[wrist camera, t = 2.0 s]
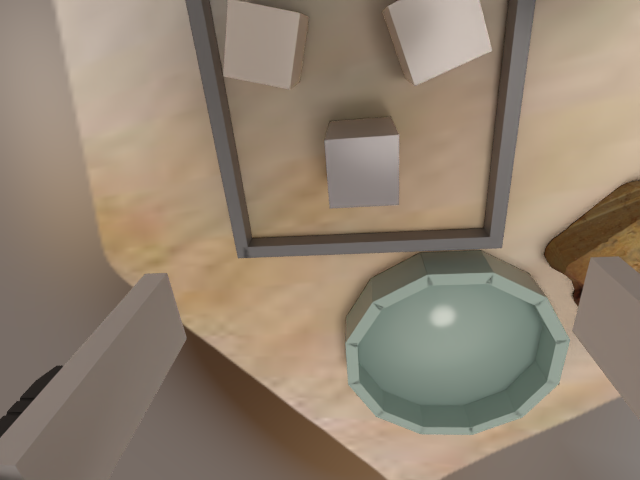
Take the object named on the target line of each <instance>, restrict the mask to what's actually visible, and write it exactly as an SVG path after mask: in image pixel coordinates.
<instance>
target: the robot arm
mask: <svg viewBox="0 0 640 480" xmlns="http://www.w3.org/2000/svg"><path fill="white" fill-rule="evenodd" d="M572 331H573V333H574V334H575V335H576V337H577V338H578V339H579V341H580V342H581V343H582V345H583V346H584V347H585V349H586V350H587V351H588V353H589V354H590V355H591V357H592V358H593V359H594V361H595V362H596V363H597V365H598V366H599V367H600V369H601V370H602V371H603V373H604V374H605V375H606V377H607V378H608V379H609V381H610V382H611V383H612V384H613V386H614V387H615V388H616V390H617V391H618V392H619V394H620V395H621V396H622V398H623V399H624V400H625V402H626V403H627V404H628V405H629V407H630V408H631V410H632V411H633V412H634V414H635V415H636V416H637V418H638V419H639V420H640V274H639V273H638V272H637V271H636V270H634V269H633V268H632V267H631V266H630V265H628V264H627V263H626V262H625V261H623V260H622V259H621V258H620V257H619V256H616V257H591V258H590V262H589V266H588V270H587V274H586V278H585V282H584V286H583V290H582V294H581V298H580V302H579V306H578V310H577V314H576V318H575V322H574V326H573V330H572ZM185 340H186V335H185V331H184V328H183V325H182V321H181V318H180V315H179V311H178V308H177V305H176V301H175V298H174V295H173V291H172V288H171V285H170V281H169V278H168V275H167V273H155V274H144V276H143V277H142V278H141V279H140V280H139V281H138V282H137V284H136V285H135V286H134V287H133V288H132V289H131V290H130V292H129V293H128V294H127V295H126V296H125V297H124V298H123V299H122V301H121V302H120V303H119V304H118V305H117V306H116V307H115V309H114V310H113V311H112V312H111V313H110V314H109V315H108V316H107V318H106V319H105V320H104V321H103V322H102V323H101V324H100V325H99V327H98V328H97V329H96V330H95V331H94V332H93V333H92V334H91V336H90V337H89V338H88V339H87V340H86V341H85V342H84V344H83V345H82V346H81V347H80V348H79V349H78V350H77V352H76V353H75V354H74V355H73V356H72V357H71V358H70V359H69V361H68V362H67V363H66V364H65V365H64V366H56V367H54V368H53V369H52V370H50V371H49V372H47V373H46V374H45V375H43V376H42V377H40V378H39V379H38V380H36V381H35V382H34V383H33V384H32V385H31V387H30V388H29V389H28V390H27V391H26V392H25V393H24V394H23V395H22V396H21V398H20V401H17V402H16V403H15V404H14V405H13V406H12V407H11V408H10V409H9V410H8V411H7V415H6V416H3V417H2V418H1V419H0V480H109V478H110V476H111V474H112V472H113V471H114V469H115V467H116V465H117V463H118V462H119V460H120V458H121V456H122V454H123V453H124V451H125V449H126V447H127V445H128V443H129V442H130V440H131V438H132V436H133V435H134V433H135V431H136V429H137V427H138V425H139V424H140V422H141V420H142V418H143V416H144V415H145V413H146V411H147V409H148V407H149V406H150V404H151V402H152V400H153V398H154V397H155V395H156V393H157V391H158V389H159V388H160V386H161V384H162V382H163V380H164V378H165V377H166V375H167V373H168V371H169V369H170V368H171V366H172V364H173V362H174V360H175V359H176V357H177V355H178V353H179V351H180V349H181V348H182V346H183V344H184V342H185Z"/></svg>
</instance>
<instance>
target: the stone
mask: <svg viewBox="0 0 640 480" xmlns="http://www.w3.org/2000/svg"><path fill="white" fill-rule="evenodd" d="M544 255H545V257H546V259H547V261H548V263H549V264H550V266H551V268H554V269H555V270H557V271H559V272H561V273H563V274H564V275H566V276H567V277H568V278H569V279H571V280H572V283H573V286H574V288H575V292H574V296H573V297H574V300H575V303H576V304H577V305H578V306H579V302H580V298H581V294H582V290H583V286H584V282H585V278H586V274H587V270H588V266H589V262H590V258H591V257H616V256H619V257H620V258H621V259H622V260H623V261H625V262H626V263H627V264H628V265H630V266H631V267H632V268H633V269H634V270H636V271H637V272H638V273H639V274H640V180H639V181H633V182H629V183H626V184H625V185H622V186H620V187H619V188H617V189H616V190H615V191H614V192H612V193H611V194H610V195H608V196H607V197H606V198H604V199H603V200H602V201H600V202H599V203H598V204H596V205H595V206H594V207H593V208H592V209H591V210H590V211H588V212H587V213H585V214H584V215H583V216H582V217H581V218H580V219H578V220H577V221H576V222H574V223H573V224H572V225H570V227H569V228H568V229H566V230H565V231H564V232H562V233H561V234H560V235H559V236H557V237H555V238H554V239H553V240H552V241H551V242H550V243H549V245H548V246H547V247H546V250H545V254H544Z"/></svg>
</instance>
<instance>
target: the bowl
mask: <svg viewBox="0 0 640 480" xmlns="http://www.w3.org/2000/svg"><path fill="white" fill-rule="evenodd" d="M569 342H570V339H569V337H568V335H567V334H566V332H565V330H564V328H563V326H562V324H561V322H560V321H559V319H558V317H557V315H556V313H555V311H554V310H553V308H552V306H551V304H550V302H549V300H548V298H547V297H546V296H545V294H544V293H543V292H542V290H541V289H540V288H539V286H538V285H537V283H536V282H535V281H534V279H533V278H532V277H531V275H530V274H529V273H527V272H525V271H523V270H521V269H519V268H517V267H514V266H512V265H510V264H508V263H506V262H504V261H502V260H500V259H498V258H496V257H493V256H491V255H489V254H487V253H485V252H483V251H481V250H472V251H446V252H421V253H419V254H417V255H415V256H413V257H411V258H409V259H407V260H405V261H403V262H401V263H400V264H398V265H396V266H394V267H392V268H390V269H388V270H386V271H384V272H382V273H380V274H379V275H377V276H375V277H373V278H371V279H370V281H369V282H368V284H367V286H366V287H365V289H364V290H363V292H362V293H361V295H360V296H359V298H358V300H357V301H356V303H355V304H354V306H353V307H352V309H351V311H350V312H349V314H348V315H347V317H346V339H345V345H346V359H347V373H348V385H349V386H350V387H351V388H352V389H353V390H354V392H355V393H356V394H357V395H358V396H359V397H360V399H361V400H362V401H363V402H364V403H365V404H366V405H367V407H368V408H369V409H370V410H371V411H372V412H373V413H374V415H375V416H376V417H378V418H381V419H383V420H386V421H388V422H391V423H394V424H396V425H399V426H401V427H404V428H406V429H409V430H411V431H414V432H416V433H419V434H446V435H473V434H476V433H479V432H482V431H485V430H488V429H491V428H493V427H496V426H499V425H502V424H505V423H508V422H511V421H514V420H516V419H519V418H522V417H523V416H524V415H526V414H527V413H528V412H529V411H530V410H531V409H532V408H533V407H534V406H535V405H536V404H538V403H539V402H540V401H541V400H542V399H543V398H544V397H545V396H546V395H547V394H548V393H549V392H551V391H552V390H553V389H554V388H555V387H556V386H557V385H558V384H559V381H560V377H561V374H562V370H563V366H564V362H565V358H566V354H567V350H568V346H569Z"/></svg>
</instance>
